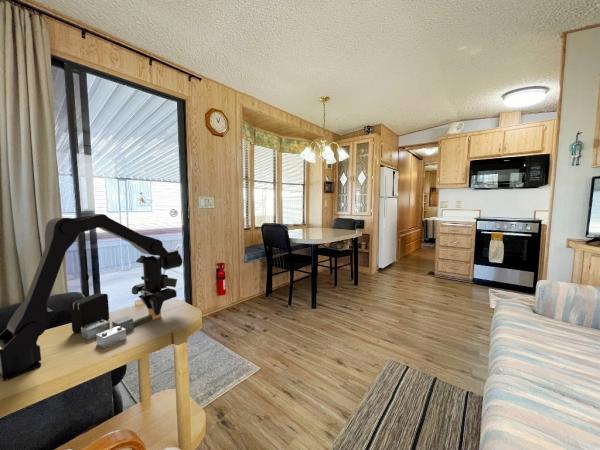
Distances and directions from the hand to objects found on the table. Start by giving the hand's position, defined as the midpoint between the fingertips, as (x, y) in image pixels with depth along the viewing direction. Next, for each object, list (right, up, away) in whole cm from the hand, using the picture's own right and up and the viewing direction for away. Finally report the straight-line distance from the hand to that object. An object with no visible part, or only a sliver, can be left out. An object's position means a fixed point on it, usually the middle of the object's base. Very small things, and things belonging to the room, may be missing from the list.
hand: (155, 314), depth 93 cm
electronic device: (-18, -2, -6) cm, 19 cm away
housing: (-8, -2, -14) cm, 16 cm away
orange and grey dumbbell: (-3, -2, -6) cm, 7 cm away
